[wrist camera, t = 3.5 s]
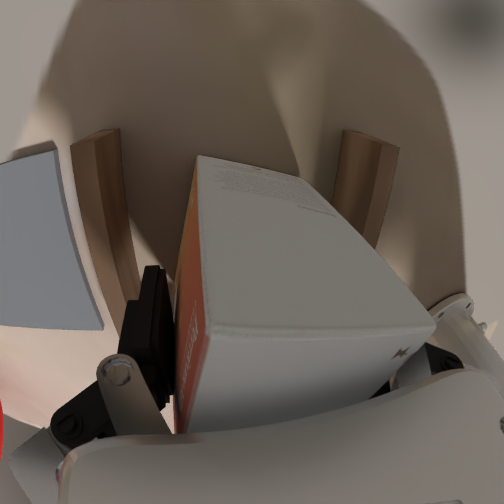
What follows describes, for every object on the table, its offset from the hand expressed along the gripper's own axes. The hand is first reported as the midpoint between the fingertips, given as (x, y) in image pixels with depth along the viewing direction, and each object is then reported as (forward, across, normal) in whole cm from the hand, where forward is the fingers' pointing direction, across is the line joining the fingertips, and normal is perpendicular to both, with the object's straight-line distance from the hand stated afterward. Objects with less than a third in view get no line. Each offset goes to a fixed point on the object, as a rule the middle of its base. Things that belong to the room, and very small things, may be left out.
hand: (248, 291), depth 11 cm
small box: (+5, 0, 0) cm, 5 cm away
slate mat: (+5, +15, 0) cm, 16 cm away
